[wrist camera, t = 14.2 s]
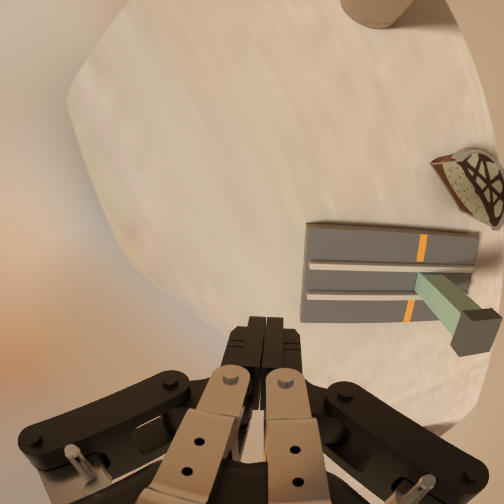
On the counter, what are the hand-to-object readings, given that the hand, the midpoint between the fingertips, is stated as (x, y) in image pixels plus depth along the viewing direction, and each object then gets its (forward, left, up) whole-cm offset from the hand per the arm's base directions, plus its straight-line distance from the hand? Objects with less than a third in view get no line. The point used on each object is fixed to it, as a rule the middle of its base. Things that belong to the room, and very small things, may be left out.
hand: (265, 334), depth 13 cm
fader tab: (+8, +23, -26) cm, 35 cm away
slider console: (+8, +18, -29) cm, 35 cm away
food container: (-8, +28, -29) cm, 41 cm away
